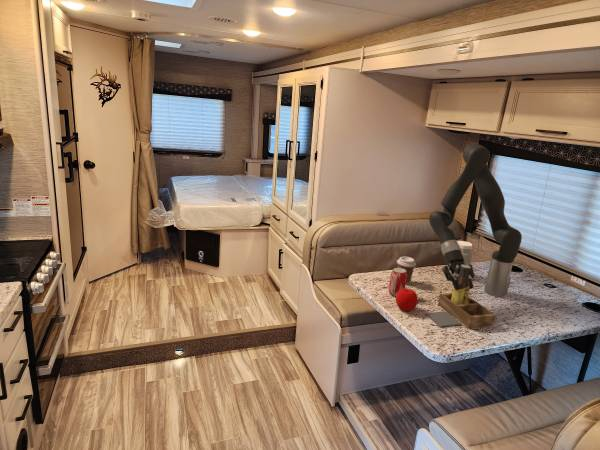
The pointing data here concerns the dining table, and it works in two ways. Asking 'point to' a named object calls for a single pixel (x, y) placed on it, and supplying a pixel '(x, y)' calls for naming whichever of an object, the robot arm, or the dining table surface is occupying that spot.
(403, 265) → the coffee cup
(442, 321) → the coaster
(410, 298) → the fruit
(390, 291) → the soda can
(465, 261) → the jar
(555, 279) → the dining table surface
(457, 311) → the caddy
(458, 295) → the sauce bottle
